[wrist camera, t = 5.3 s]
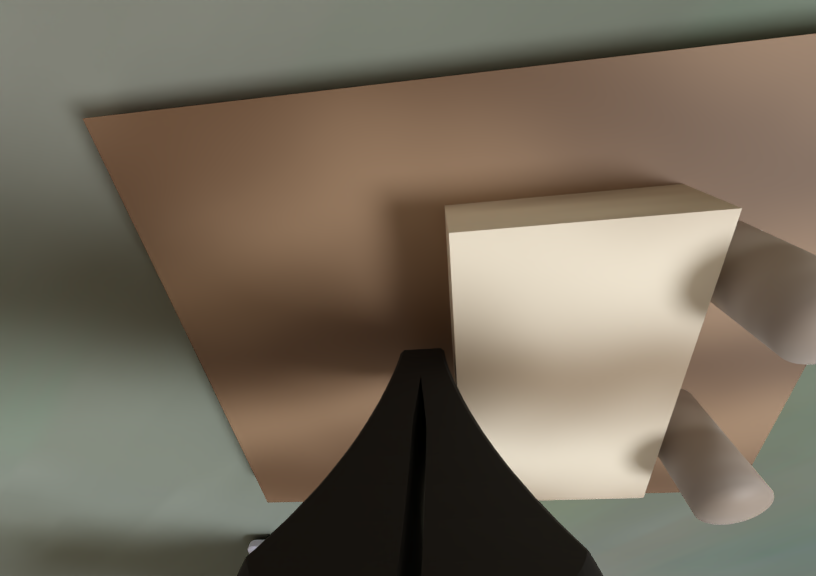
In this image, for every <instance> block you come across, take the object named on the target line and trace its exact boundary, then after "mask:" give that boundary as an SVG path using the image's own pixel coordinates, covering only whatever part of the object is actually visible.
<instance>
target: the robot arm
mask: <svg viewBox="0 0 816 576" xmlns="http://www.w3.org/2000/svg"><path fill="white" fill-rule="evenodd" d="M247 550H248V552H249V555H248V556H247V557H246V559H245V561H244V563H243V565H242V567H241V569H240V571H239V573H238V575H237V576H603V574H602V573H601V571H600V569H599V567H598V566H597V564H596V562H595V561H594V559H593V557H592V556H591V554H590V552H589V551H588V550H587V549H586V548H585V547H584V546H583V545H582V544H581V543H580V542H579V541H578V540H577V539H576V538H575V537H574V536H573V535H571V534H570V533H569V532H568V531H567V530H566V529H565V528H564V527H563V526H562V525H561V524H560V523H559V522H558V521H557V520H556V519H555V518H554V517H553V516H552V515H551V514H550V512H549V511H548V510H547V509H546V508H545V507H544V506H543V505H542V504H541V503H540V502H539V501H538V500H537V499H536V498H535V497H534V495H533V494H532V493H531V492H530V491H529V490H528V488H527V487H526V486H525V485H524V484H523V483H522V481H521V480H520V479H519V478H518V477H517V476H516V474H515V473H514V472H513V471H512V470H511V469H510V467H509V466H508V465H507V464H506V462H505V461H504V460H503V458H502V457H501V456H500V455H499V453H498V452H497V451H496V449H495V448H494V446H493V445H492V444H491V442H490V441H489V439H488V438H487V437H486V435H485V434H484V432H483V431H482V429H481V428H480V426H479V425H478V423H477V421H476V420H475V418H474V416H473V415H472V413H471V412H470V410H469V408H468V406H467V405H466V403H465V401H464V399H463V397H462V395H461V393H460V391H459V389H458V387H457V385H456V383H455V381H454V379H453V377H452V374H451V372H450V369H449V367H448V364H447V361H446V357H445V352H444V350H443V349H441V348H432V349H415V350H404V351H403V352H402V353H401V354H400V357H399V360H398V363H397V365H396V368H395V370H394V372H393V375H392V377H391V379H390V381H389V383H388V385H387V387H386V389H385V391H384V393H383V395H382V397H381V399H380V401H379V402H378V404H377V406H376V408H375V409H374V411H373V412H372V414H371V416H370V417H369V419H368V421H367V422H366V424H365V426H364V427H363V429H362V430H361V432H360V433H359V435H358V436H357V438H356V439H355V441H354V442H353V443H352V445H351V446H350V447H349V449H348V450H347V452H346V453H345V454H344V456H343V457H342V458H341V459H340V461H339V462H338V463H337V464H336V466H335V467H334V468H333V469H332V471H331V472H330V473H329V474H328V475H327V477H326V478H325V479H324V480H323V481H322V482H321V484H320V485H319V486H318V487H317V488H316V489H315V490H314V491H313V492H312V493H311V494H310V495H309V497H308V498H307V499H306V500H305V501H304V502H303V503H302V504H301V505H300V506H299V507H298V508H297V509H296V510H295V511H294V513H293V514H292V515H291V516H290V517H289V518H288V519H287V520H286V521H285V522H283V523H282V524H281V525H280V526H279V527H278V528H277V529H276V530H275V531H274V532H273V533H272V534H271V535H269V536H268V537H267V538H266V539H264V540H253V541H251V542H250V544H249V546H248V549H247Z"/></svg>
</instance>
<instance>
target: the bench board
mask: <svg viewBox="0 0 816 576" xmlns="http://www.w3.org/2000/svg"><path fill="white" fill-rule="evenodd" d="M83 120H84V122H85V125H86V127H87V129H88V131H89V133H90V135H91V137H92V139H93V141H94V143H95V145H96V147H97V149H98V152H99V154H100V156H101V158H102V160H103V162H104V164H105V166H106V168H107V170H108V172H109V174H110V176H111V178H112V181H113V183H114V185H115V187H116V189H117V191H118V193H119V195H120V197H121V199H122V201H123V203H124V205H125V207H126V210H127V212H128V214H129V216H130V218H131V220H132V222H133V224H134V226H135V228H136V230H137V232H138V234H139V236H140V239H141V241H142V243H143V245H144V247H145V249H146V251H147V253H148V255H149V257H150V259H151V261H152V263H153V265H154V268H155V270H156V272H157V274H158V276H159V278H160V280H161V282H162V284H163V286H164V288H165V290H166V292H167V294H168V297H169V299H170V301H171V303H172V305H173V307H174V309H175V311H176V313H177V315H178V317H179V319H180V321H181V323H182V326H183V328H184V330H185V332H186V334H187V336H188V338H189V340H190V342H191V344H192V346H193V348H194V350H195V352H196V355H197V357H198V359H199V361H200V363H201V365H202V367H203V369H204V371H205V373H206V375H207V377H208V379H209V382H210V384H211V386H212V388H213V390H214V392H215V394H216V396H217V398H218V400H219V402H220V404H221V406H222V408H223V411H224V413H225V415H226V417H227V419H228V421H229V423H230V425H231V427H232V429H233V431H234V433H235V435H236V437H237V440H238V442H239V444H240V446H241V448H242V450H243V452H244V454H245V456H246V458H247V460H248V462H249V464H250V466H251V469H252V471H253V473H254V475H255V477H256V479H257V481H258V483H259V485H260V487H261V489H262V491H263V493H264V495H265V498H266V500H267V502H304V501H305V500H306V499H307V498H308V497H309V495H310V494H311V493H312V492H313V491H314V490H315V489H316V488H317V487H318V486H319V485H320V484H321V482H322V481H323V480H324V479H325V478H326V477H327V475H328V474H329V473H330V472H331V471H332V469H333V468H334V467H335V466H336V464H337V463H338V462H339V461H340V459H341V458H342V457H343V456H344V454H345V453H346V452H347V450H348V449H349V447H350V446H351V445H352V443H353V442H354V441H355V439H356V438H357V436H358V435H359V433H360V432H361V430H362V429H363V427H364V426H365V424H366V422H367V421H368V419H369V417H370V416H371V414H372V412H373V411H374V409H375V408H376V406H377V404H378V402H379V401H380V399H381V397H382V395H383V393H384V391H385V389H386V387H387V385H388V383H389V381H390V379H391V377H392V375H393V372H394V370H395V368H396V365H397V363H398V360H399V357H400V354H401V353H402V352H403V351H404V350H415V349H432V348H441V349H443V350H444V352H445V357H446V361H447V364H448V367H449V369H450V372H451V374H452V377H453V379H454V362H453V345H452V328H451V310H450V293H449V276H448V258H447V241H446V224H445V206H444V205H455V204H466V203H477V202H489V201H500V200H511V199H522V198H533V197H544V196H555V195H566V194H577V193H588V192H599V191H610V190H621V189H632V188H643V187H654V186H665V185H676V184H685V185H687V186H690V187H692V188H695V189H697V190H699V191H702V192H704V193H707V194H709V195H711V196H714V197H716V198H719V199H721V200H723V201H726V202H728V203H731V204H733V205H735V206H738V207H740V208H742V210H741V213H740V216H739V219H738V222H737V225H736V228H735V231H734V234H733V237H732V239H731V242H730V245H729V248H728V251H727V254H726V257H725V260H724V263H723V266H722V269H721V272H720V275H719V278H718V280H717V283H716V286H715V289H714V292H713V295H712V298H711V301H710V304H709V307H708V310H707V313H706V316H705V319H704V322H703V324H702V327H701V330H700V333H699V336H698V339H697V342H696V345H695V348H694V351H693V354H692V357H691V360H690V363H689V365H688V368H687V371H686V374H685V377H684V380H683V383H682V386H681V389H680V392H679V395H678V398H677V401H676V404H675V407H674V409H673V412H672V415H671V418H670V421H669V424H668V427H667V430H666V433H665V436H664V439H663V442H662V445H661V448H660V450H659V453H658V456H657V459H656V462H655V465H654V468H653V471H652V474H651V477H650V480H649V483H648V486H647V489H646V492H645V493H668V492H681V494H682V496H683V497H684V499H685V501H686V502H687V504H688V505H689V507H690V509H691V510H692V512H693V513H694V515H695V516H696V518H698V519H699V520H701V521H703V522H706V523H710V524H721V525H722V524H733V523H738V522H742V521H745V520H748V519H751V518H753V517H755V516H757V515H759V514H761V513H762V512H764V511H765V510H766V509H767V508H768V507H769V506H770V505H771V504H772V502H773V500H774V492H773V491H772V489H771V488H770V487H769V486H768V485H767V483H766V482H765V481H764V480H763V479H762V477H761V476H760V475H759V474H758V473H757V471H756V470H755V469H754V468H753V467H752V464H753V462H754V460H755V458H756V456H757V455H758V453H759V451H760V449H761V447H762V445H763V444H764V442H765V440H766V438H767V436H768V434H769V433H770V431H771V429H772V427H773V425H774V423H775V422H776V420H777V418H778V416H779V414H780V412H781V411H782V409H783V407H784V405H785V403H786V401H787V400H788V398H789V396H790V394H791V392H792V390H793V389H794V387H795V385H796V383H797V381H798V379H799V378H800V376H801V374H802V372H803V370H804V368H805V367H806V365H807V364H816V33H813V34H805V35H796V36H788V37H779V38H770V39H762V40H753V41H745V42H736V43H727V44H719V45H710V46H701V47H693V48H684V49H676V50H667V51H658V52H650V53H641V54H632V55H624V56H615V57H607V58H598V59H589V60H581V61H572V62H564V63H555V64H546V65H538V66H529V67H520V68H512V69H503V70H495V71H486V72H477V73H469V74H460V75H451V76H443V77H434V78H426V79H417V80H408V81H400V82H391V83H383V84H374V85H365V86H357V87H348V88H339V89H331V90H322V91H314V92H305V93H296V94H288V95H279V96H271V97H262V98H253V99H245V100H236V101H227V102H219V103H210V104H202V105H193V106H184V107H176V108H167V109H158V110H150V111H141V112H133V113H124V114H116V115H108V116H100V117H92V118H84V119H83ZM454 381H455V380H454Z"/></svg>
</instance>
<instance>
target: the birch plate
mask: <svg viewBox="0 0 816 576" xmlns="http://www.w3.org/2000/svg"><path fill="white" fill-rule="evenodd" d="M444 206H445V224H446V241H447V258H448V276H449V293H450V310H451V328H452V345H453V362H454V380H455V383H456V385H457V387H458V389H459V391H460V393H461V395H462V397H463V399H464V401H465V403H466V405H467V406H468V408H469V410H470V412H471V413H472V415H473V416H474V418H475V420H476V421H477V423H478V425H479V426H480V428H481V429H482V431H483V432H484V434H485V435H486V437H487V438H488V439H489V441H490V442H491V444H492V445H493V446H494V448H495V449H496V451H497V452H498V453H499V455H500V456H501V457H502V458H503V460H504V461H505V462H506V464H507V465H508V466H509V467H510V469H511V470H512V471H513V472H514V473H515V474H516V476H517V477H518V478H519V479H520V480H521V481H522V483H523V484H524V485H525V486H526V487H527V488H528V490H529V491H530V492H531V493H532V494H533V495H534V497H535V498H536V499H537V500H575V499H614V498H643V497H644V494H645V492H646V489H647V486H648V483H649V480H650V477H651V474H652V471H653V468H654V465H655V462H656V459H657V456H658V453H659V450H660V448H661V445H662V442H663V439H664V436H665V433H666V430H667V427H668V424H669V421H670V418H671V415H672V412H673V409H674V407H675V404H676V401H677V398H678V395H679V392H680V389H681V386H682V383H683V380H684V377H685V374H686V371H687V368H688V365H689V363H690V360H691V357H692V354H693V351H694V348H695V345H696V342H697V339H698V336H699V333H700V330H701V327H702V324H703V322H704V319H705V316H706V313H707V310H708V307H709V304H710V301H711V298H712V295H713V292H714V289H715V286H716V283H717V280H718V278H719V275H720V272H721V269H722V266H723V263H724V260H725V257H726V254H727V251H728V248H729V245H730V242H731V239H732V237H733V234H734V231H735V228H736V225H737V222H738V219H739V216H740V213H741V210H742V208H740V207H738V206H735V205H733V204H731V203H728V202H726V201H723V200H721V199H719V198H716V197H714V196H711V195H709V194H707V193H704V192H702V191H699V190H697V189H695V188H692V187H690V186H687V185H685V184H676V185H665V186H654V187H643V188H632V189H621V190H610V191H599V192H588V193H577V194H566V195H555V196H544V197H533V198H522V199H511V200H500V201H489V202H477V203H466V204H455V205H444Z"/></svg>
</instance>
